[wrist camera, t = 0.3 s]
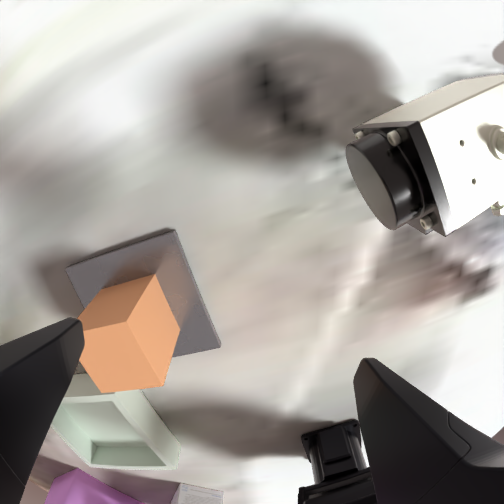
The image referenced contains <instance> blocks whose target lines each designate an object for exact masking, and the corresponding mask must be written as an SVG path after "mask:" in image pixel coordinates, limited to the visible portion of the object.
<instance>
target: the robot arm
mask: <svg viewBox="0 0 504 504" xmlns="http://www.w3.org/2000/svg"><path fill="white" fill-rule="evenodd" d="M84 346H85V339H84V332H83V325H82V322H81V321H80V320H79V319H75V318H67V319H64V320H62V321H59V322H57V323H54V324H52V325H50V326H47V327H45V328H42V329H40V330H37V331H35V332H32V333H30V334H27V335H25V336H23V337H20V338H18V339H15V340H13V341H10V342H8V343H5V344H3V345H1V346H0V504H19V503H20V501H21V498H22V495H23V492H24V489H25V485H26V483H27V481H28V478H29V476H30V473H31V470H32V468H33V465H34V463H35V460H36V458H37V456H38V453H39V451H40V448H41V446H42V444H43V441H44V439H45V437H46V435H47V432H48V430H49V428H50V426H51V423H52V421H53V419H54V417H55V415H56V413H57V410H58V408H59V406H60V404H61V402H62V400H63V398H64V396H65V394H66V392H67V390H68V388H69V385H70V383H71V381H72V378H73V375H74V373H75V370H76V367H77V365H78V362H79V359H80V357H81V354H82V352H83V349H84ZM353 384H354V391H355V398H356V405H357V413H358V419H359V421H358V420H354V421H351V422H348V423H344V424H341V425H337V426H334V427H330V428H327V429H323V430H319V431H315V432H311V433H307V434H304V435H302V436H301V439H302V443H303V445H304V448H305V451H306V454H307V457H308V459H309V462H310V463H311V464H312V469H313V475H314V481H315V485H311V486H307V487H300V488H299V494H298V504H504V445H503V444H501V443H499V442H497V441H496V440H494V439H492V438H490V437H489V436H487V435H485V434H483V433H482V432H480V431H478V430H477V429H475V428H473V427H472V426H470V425H468V424H467V423H465V422H464V421H462V420H461V419H459V418H458V417H456V416H455V415H453V414H452V413H451V412H449V411H447V410H446V409H445V408H444V407H442V406H441V405H439V404H438V403H437V402H435V401H434V400H432V399H431V398H429V397H428V396H427V395H425V394H424V393H422V392H421V391H420V390H418V389H417V388H415V387H414V386H413V385H411V384H410V383H408V382H407V381H406V380H404V379H403V378H402V377H400V376H399V375H397V374H396V373H395V372H393V371H392V370H390V369H389V368H388V367H386V366H385V365H384V364H382V363H381V362H379V361H378V360H377V359H375V358H363V359H362V360H361V362H360V364H359V367H358V369H357V371H356V374H355V376H354V380H353ZM360 429H361V433H362V437H363V441H364V445H365V449H366V453H367V457H368V462H369V466H370V467H368V468H367V467H366V463H365V460H364V457H363V454H362V451H361V435H360Z"/></svg>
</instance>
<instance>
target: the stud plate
mask: <svg viewBox="0 0 504 504" xmlns="http://www.w3.org/2000/svg"><path fill="white" fill-rule="evenodd" d="M65 270H66V272H67V274H68V276H69V278H70V280H71V283H72V285H73V287H74V289H75V291H76V293H77V295H78V297H79V299H80V301H81V303H82V305H83V307H84V309H85V308H86V307H87V306H88V304H89V303H90V302H91V301H92V300H93V298H94V297H95V296H96V295H97V294H98V292H99V291H100V290H101V289H105V288H108V287H111V286H115V285H118V284H122V283H125V282H129V281H132V280H136V279H139V278H142V277H146V276H149V275H153V274H155V275H156V277H157V280H158V282H159V284H160V286H161V289H162V291H163V293H164V295H165V298H166V300H167V302H168V304H169V307H170V309H171V311H172V313H173V315H174V317H175V320H176V322H177V324H178V326H179V328H180V332H179V335H178V338H177V342H176V345H175V348H174V352H173V355H172V357H177V356H182V355H187V354H192V353H197V352H202V351H206V350H211V349H216V348H220V347H221V342H220V340H219V337H218V335H217V333H216V330H215V328H214V326H213V323H212V321H211V319H210V316H209V314H208V311H207V309H206V307H205V304H204V302H203V299H202V297H201V294H200V292H199V289H198V287H197V284H196V282H195V279H194V277H193V274H192V272H191V269H190V267H189V264H188V262H187V259H186V256H185V254H184V251H183V248H182V246H181V243H180V241H179V238H178V235H177V232H176V230H174V231H171V232H168V233H164V234H161V235H158V236H155V237H152V238H149V239H146V240H143V241H140V242H137V243H134V244H131V245H128V246H125V247H122V248H119V249H116V250H113V251H110V252H108V253H105V254H102V255H99V256H96V257H93V258H90V259H88V260H85V261H82V262H79V263H76V264H74V265H71V266H68V267H67V268H66V269H65Z"/></svg>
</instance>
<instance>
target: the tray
mask: <svg viewBox="0 0 504 504" xmlns="http://www.w3.org/2000/svg"><path fill="white" fill-rule="evenodd" d="M50 427H51V428H52V429H53V430H54V431H55V432H56V433H57V434H58V435H59V437H60V438H61V439H62V440H63V441H64V442H65V443H66V444H67V445H68V446H69V447H70V448H71V449H72V450H73V451H74V452H75V453H76V454H77V455H78V456H79V457H80V458H81V459H82V460H83V461H84V462H85V463H86V464H87V465H88V466H89V467H95V468H108V469H127V470H176V469H177V467H178V460H179V454H180V449H181V444H180V443H179V442H178V441H177V439H176V438H175V437H174V435H173V434H172V433H171V432H170V430H169V429H168V428H167V426H166V425H165V424H164V422H163V421H162V420H161V418H160V417H159V416H158V414H157V413H156V411H155V410H154V409H153V407H152V406H151V404H150V403H149V402H148V400H147V399H146V397H145V396H144V394H143V393H142V391H141V390H140V389H137V390H128V391H119V392H109V393H101V391H100V390H99V389H98V387H97V386H96V384H95V383H94V382H93V380H92V379H91V377H90V376H89V374H88V373H84V374H75V375H73V378H72V381H71V383H70V385H69V388H68V390H67V392H66V394H65V396H64V398H63V400H62V402H61V404H60V406H59V408H58V410H57V413H56V415H55V417H54V419H53V421H52V423H51V426H50Z"/></svg>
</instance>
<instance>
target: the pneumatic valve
mask: <svg viewBox="0 0 504 504" xmlns="http://www.w3.org/2000/svg"><path fill="white" fill-rule="evenodd" d="M353 132H354V134H355V137H356V139H357V140H356V141H354V142H352V143H350V144H348V145H347V147H346V159H347V163H348V166H349V169H350V171H351V174H352V176H353V179H354V181H355V183H356V185H357V187H358V189H359V191H360V193H361V194H362V196H363V198H364V200H365V201H366V203H367V205H368V206H369V208H370V209H371V211H372V212H373V213H374V215H375V216H376V217H377V219H378V220H379V221H380V222H381V223H382V224H383V225H384V226H385V227H387V228H388V229H390V230H396V229H398V228H399V227H401V226H403V225H404V224H406V223H407V224H409V225H411V226H412V227H414V228H415V229H417V230H419V231H420V232H422V233H424V234H425V235H426V234H428V233H430V232H431V231H433V230H434V231H436V232H438V233H439V234H441V235H443V236H445V237H446V236H447V235H449V234H451V233H452V232H454V231H455V230H457V229H458V228H460V227H461V226H463V225H464V224H466V223H467V222H469V221H470V220H471V219H473V218H474V217H476V216H477V215H479V214H480V213H482V212H483V211H484V210H486V209H487V208H489V207H490V206H491V209H492V213H493V215H495V216H501V215H503V214H504V73H498V74H491V75H484V76H477V77H471V78H465V79H461V80H458V81H456V82H454V83H451V84H449V85H446V86H444V87H442V88H439V89H437V90H435V91H433V92H430V93H428V94H426V95H423V96H421V97H419V98H417V99H415V100H412V101H410V102H408V103H406V104H404V105H401V106H399V107H397V108H395V109H393V110H391V111H389V112H386V113H384V114H382V115H380V116H378V117H376V118H374V119H372V120H370V121H368V122H366V123H364V124H362V125H359V126H357V127H355V128H353Z"/></svg>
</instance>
